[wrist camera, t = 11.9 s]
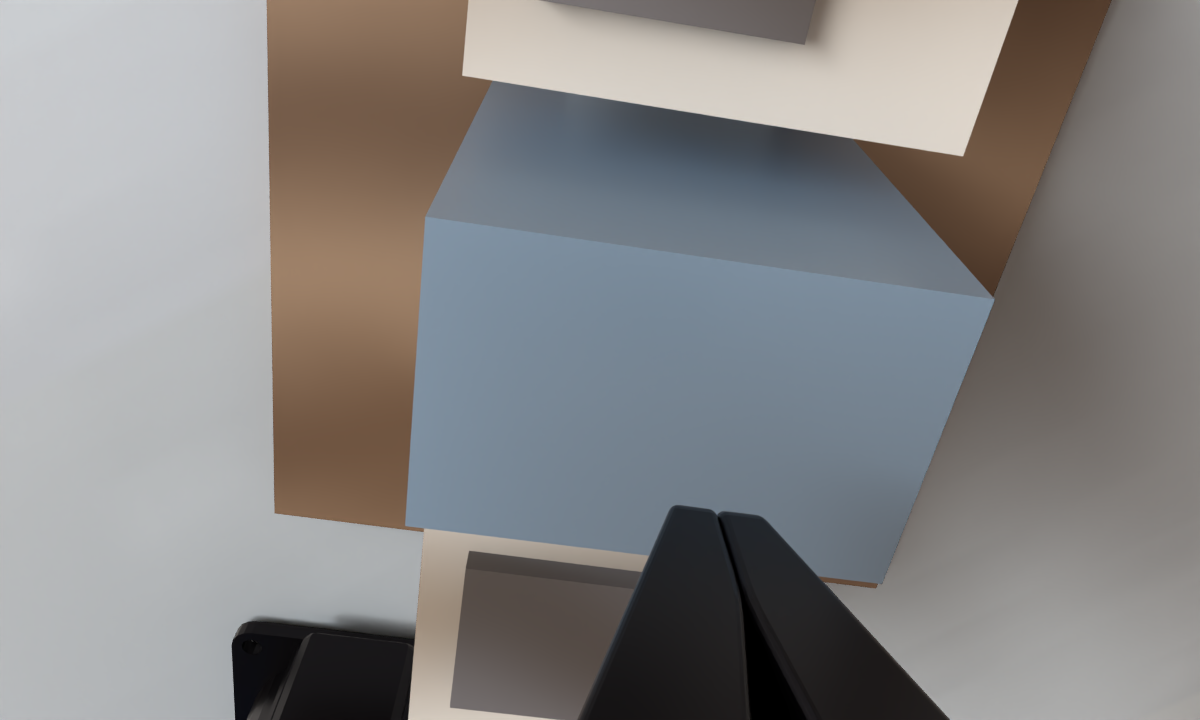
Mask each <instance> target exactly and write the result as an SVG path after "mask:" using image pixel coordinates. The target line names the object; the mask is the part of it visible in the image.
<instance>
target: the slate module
mask: <svg viewBox="0 0 1200 720" xmlns="http://www.w3.org/2000/svg"><path fill="white" fill-rule="evenodd" d="M994 301H995V299H994V298H993V297H992V296H991V294H990V293H989V292H988V291H987V290H986V289H985V288H984V287H983V285H982V284H981V283H980V282H979V281H978V280H977V279H976V278H975V276H974V275H973V274H972V273H971V272H970V271H969V270H968V268H967V267H966V266H965V265H964V264H963V263H962V262H961V261H960V259H959V258H958V257H957V256H956V255H955V254H954V253H953V252H952V250H951V249H950V248H949V247H948V246H947V245H946V244H945V243H944V241H943V240H942V239H941V238H940V237H939V236H938V235H937V234H936V232H935V231H934V230H933V229H932V228H931V227H930V226H929V225H928V223H927V222H926V221H925V220H924V219H923V218H922V217H921V215H920V214H919V213H918V212H917V211H916V210H915V209H914V208H913V206H912V205H911V204H910V203H909V202H908V201H907V200H906V199H905V197H904V196H903V195H902V194H901V193H900V192H899V191H898V190H897V188H896V187H895V186H894V185H893V184H892V183H891V182H890V181H889V179H888V178H887V177H886V176H885V175H884V174H883V173H882V171H881V170H880V169H879V168H878V167H877V166H876V165H875V164H874V162H873V161H872V160H871V159H870V158H869V157H868V156H867V155H866V153H865V152H864V151H863V150H862V149H861V148H860V147H859V146H858V144H857V143H856V142H855V141H854V140H853V139H852V138H846V137H840V136H833V135H827V134H821V133H815V132H809V131H803V130H796V129H790V128H784V127H778V126H772V125H765V124H759V123H753V122H747V121H741V120H734V119H728V118H722V117H716V116H710V115H703V114H697V113H691V112H685V111H679V110H672V109H666V108H660V107H654V106H648V105H641V104H635V103H629V102H623V101H617V100H610V99H604V98H598V97H592V96H586V95H579V94H573V93H567V92H561V91H555V90H548V89H542V88H536V87H530V86H524V85H517V84H511V83H505V82H499V81H492V83H491V85H490V87H489V89H488V91H487V93H486V95H485V97H484V99H483V101H482V103H481V105H480V107H479V109H478V111H477V113H476V115H475V117H474V119H473V121H472V123H471V125H470V127H469V129H468V131H467V133H466V136H465V138H464V140H463V142H462V144H461V146H460V148H459V150H458V152H457V154H456V156H455V158H454V160H453V162H452V164H451V166H450V168H449V170H448V172H447V174H446V176H445V178H444V180H443V182H442V184H441V186H440V188H439V190H438V192H437V194H436V196H435V198H434V200H433V202H432V204H431V206H430V208H429V210H428V212H427V214H426V216H425V228H424V244H423V259H422V274H421V290H420V305H419V320H418V336H417V351H416V366H415V382H414V397H413V412H412V428H411V443H410V458H409V474H408V489H407V504H406V520H405V526H409V527H417V528H425V529H433V530H442V531H450V532H458V533H466V534H475V535H483V536H491V537H499V538H507V539H516V540H524V541H532V542H540V543H549V544H557V545H565V546H573V547H581V548H590V549H598V550H606V551H614V552H623V553H631V554H639V555H647V556H649V555H650V552H651V550H652V548H653V546H654V543H655V541H656V539H657V536H658V534H659V532H660V530H661V527H662V525H663V523H664V521H665V518H666V516H667V514H668V512H669V510H670V508H671V507H672V506H674V505H684V506H692V507H699V508H707V509H711V510H713V511H714V512H715V513H716V514H718V513H720V512H722V511H730V512H738V513H746V514H753V515H759V516H761V517H763V518H764V519H765V520H767V521H768V522H769V524H770V525H771V526H772V527H773V528H774V529H775V530H776V531H777V532H778V533H779V534H780V535H781V537H782V538H783V539H784V540H785V541H786V542H787V543H788V544H789V545H790V546H791V547H792V549H793V550H794V551H795V552H796V553H797V554H798V555H799V556H800V557H801V558H802V559H803V560H804V562H805V563H806V564H807V565H808V566H809V567H810V568H811V569H812V570H813V571H814V572H815V574H816V575H817V576H820V577H828V578H836V579H845V580H853V581H861V582H869V583H877V584H882V583H883V580H884V578H885V575H886V573H887V570H888V568H889V565H890V563H891V560H892V558H893V555H894V553H895V550H896V547H897V545H898V542H899V540H900V537H901V535H902V532H903V530H904V527H905V525H906V522H907V520H908V517H909V515H910V512H911V510H912V507H913V505H914V502H915V500H916V497H917V495H918V492H919V490H920V487H921V485H922V482H923V479H924V477H925V474H926V472H927V469H928V467H929V464H930V462H931V459H932V457H933V454H934V452H935V449H936V447H937V444H938V442H939V439H940V437H941V434H942V432H943V429H944V427H945V424H946V422H947V419H948V417H949V414H950V412H951V409H952V406H953V404H954V401H955V399H956V396H957V394H958V391H959V389H960V386H961V384H962V381H963V379H964V376H965V374H966V371H967V369H968V366H969V364H970V361H971V359H972V356H973V354H974V351H975V349H976V346H977V344H978V341H979V339H980V336H981V333H982V331H983V328H984V326H985V323H986V321H987V318H988V316H989V313H990V311H991V308H992V306H993V303H994Z"/></svg>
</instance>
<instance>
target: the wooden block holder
mask: <svg viewBox="0 0 1200 720" xmlns="http://www.w3.org/2000/svg"><path fill="white" fill-rule="evenodd" d="M1110 3H1111V0H267V46H268V111H269V176H270V241H271V306H272V371H273V436H274V501H275V513H277V514H285V515H293V516H301V517H309V518H317V519H325V520H333V521H341V522H349V523H357V524H365V525H373V526H381V527H389V528H397V529H405V530H413V531H421V532H424V537H423V549H422V560H421V572H420V584H419V596H418V608H417V620H416V632H415V644H414V656H413V668H412V680H411V692H410V703H409V715H408V720H577V719H578V716H579V714H580V712H581V710H582V707H583V705H584V703H585V700H586V698H587V696H588V694H589V691H590V689H591V687H592V685H593V682H594V680H595V678H596V675H597V673H598V671H599V669H600V666H601V664H602V662H603V659H604V657H605V655H606V653H607V650H608V648H609V646H610V644H611V641H612V639H613V637H614V634H615V632H616V630H617V628H618V625H619V623H620V621H621V618H622V616H623V614H624V612H625V609H626V607H627V605H628V603H629V600H630V598H631V596H632V593H633V591H634V589H635V587H636V584H637V582H638V580H639V577H640V575H641V573H642V571H643V568H644V566H645V564H646V562H647V559H648V557H649V556H647V555H639V554H631V553H623V552H614V551H606V550H598V549H590V548H581V547H573V546H565V545H557V544H549V543H540V542H532V541H524V540H516V539H507V538H499V537H491V536H483V535H475V534H466V533H458V532H450V531H442V530H433V529H425V528H417V527H409V526H405V520H406V504H407V489H408V474H409V458H410V443H411V428H412V412H413V397H414V382H415V366H416V351H417V336H418V320H419V305H420V290H421V274H422V259H423V244H424V228H425V216H426V214H427V212H428V210H429V208H430V206H431V204H432V202H433V200H434V198H435V196H436V194H437V192H438V190H439V188H440V186H441V184H442V182H443V180H444V178H445V176H446V174H447V172H448V170H449V168H450V166H451V164H452V162H453V160H454V158H455V156H456V154H457V152H458V150H459V148H460V146H461V144H462V142H463V140H464V138H465V136H466V133H467V131H468V129H469V127H470V125H471V123H472V121H473V119H474V117H475V115H476V113H477V111H478V109H479V107H480V105H481V103H482V101H483V99H484V97H485V95H486V93H487V91H488V89H489V87H490V85H491V83H492V81H499V82H505V83H511V84H517V85H524V86H530V87H536V88H542V89H548V90H555V91H561V92H567V93H573V94H579V95H586V96H592V97H598V98H604V99H610V100H617V101H623V102H629V103H635V104H641V105H648V106H654V107H660V108H666V109H672V110H679V111H685V112H691V113H697V114H703V115H710V116H716V117H722V118H728V119H734V120H741V121H747V122H753V123H759V124H765V125H772V126H778V127H784V128H790V129H796V130H803V131H809V132H815V133H821V134H827V135H833V136H840V137H846V138H852V139H853V140H854V141H855V142H856V143H857V144H858V146H859V147H860V148H861V149H862V150H863V151H864V152H865V153H866V155H867V156H868V157H869V158H870V159H871V160H872V161H873V162H874V164H875V165H876V166H877V167H878V168H879V169H880V170H881V171H882V173H883V174H884V175H885V176H886V177H887V178H888V179H889V181H890V182H891V183H892V184H893V185H894V186H895V187H896V188H897V190H898V191H899V192H900V193H901V194H902V195H903V196H904V197H905V199H906V200H907V201H908V202H909V203H910V204H911V205H912V206H913V208H914V209H915V210H916V211H917V212H918V213H919V214H920V215H921V217H922V218H923V219H924V220H925V221H926V222H927V223H928V225H929V226H930V227H931V228H932V229H933V230H934V231H935V232H936V234H937V235H938V236H939V237H940V238H941V239H942V240H943V241H944V243H945V244H946V245H947V246H948V247H949V248H950V249H951V250H952V252H953V253H954V254H955V255H956V256H957V257H958V258H959V259H960V261H961V262H962V263H963V264H964V265H965V266H966V267H967V268H968V270H969V271H970V272H971V273H972V274H973V275H974V276H975V278H976V279H977V280H978V281H979V282H980V283H981V284H982V285H983V287H984V288H985V289H986V290H987V291H988V292H989V293H990V294H991V296H992V297H993V295H994V293H995V290H996V288H997V285H998V283H999V280H1000V278H1001V275H1002V273H1003V270H1004V268H1005V265H1006V263H1007V260H1008V258H1009V255H1010V253H1011V250H1012V248H1013V245H1014V243H1015V240H1016V238H1017V235H1018V233H1019V230H1020V228H1021V225H1022V223H1023V220H1024V218H1025V215H1026V213H1027V210H1028V208H1029V205H1030V203H1031V200H1032V198H1033V195H1034V193H1035V190H1036V188H1037V185H1038V183H1039V180H1040V178H1041V175H1042V173H1043V170H1044V168H1045V165H1046V163H1047V160H1048V158H1049V155H1050V153H1051V150H1052V148H1053V145H1054V143H1055V140H1056V138H1057V135H1058V133H1059V130H1060V128H1061V125H1062V123H1063V120H1064V118H1065V115H1066V113H1067V110H1068V108H1069V105H1070V103H1071V100H1072V98H1073V95H1074V93H1075V90H1076V88H1077V85H1078V83H1079V80H1080V78H1081V75H1082V73H1083V70H1084V68H1085V65H1086V63H1087V60H1088V58H1089V55H1090V53H1091V50H1092V48H1093V45H1094V43H1095V40H1096V38H1097V35H1098V33H1099V30H1100V28H1101V25H1102V23H1103V20H1104V18H1105V15H1106V13H1107V10H1108V8H1109V5H1110ZM818 577H819V578H820V579H821V580H822V581H823V582H829V583H837V584H845V585H853V586H861V587H869V588H876V587H877V585H878V584H877V583H869V582H861V581H853V580H845V579H836V578H828V577H820V576H818Z"/></svg>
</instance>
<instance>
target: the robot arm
mask: <svg viewBox="0 0 1200 720" xmlns="http://www.w3.org/2000/svg"><path fill="white" fill-rule="evenodd" d="M251 640H253V641H257V642H258V643H256V642H253V641H251ZM414 644H415V640H412V639H404V638H395V637H386V636H378V635H369V634H361V633H352V632H344V631H335V630H326V629H318V628H309V627H301V626H292V625H283V624H275V623H266V622H258V621H253V622H247V623H244V624H242V625H241V626H240V627H239V628H238V630H237V632H236V635H235V637H234V639H233V642H232V661H233V682H234V703H235V720H408V715H409V703H410V692H411V680H412V668H413V656H414ZM577 720H950V719H949V718H948V717H947V716H946V715H945V714H944V713H943V712H942V710H941V709H940V708H939V707H938V706H937V705H936V704H935V703H934V702H933V701H932V700H931V698H930V697H929V696H928V695H927V694H926V693H925V692H924V691H923V690H922V689H921V688H920V687H919V685H918V684H917V683H916V682H915V681H914V680H913V679H912V678H911V677H910V676H909V675H908V673H907V672H906V671H905V670H904V669H903V668H902V667H901V666H900V665H899V664H898V663H897V662H896V660H895V659H894V658H893V657H892V656H891V655H890V654H889V653H888V652H887V651H886V650H885V648H884V647H883V646H882V645H881V644H880V643H879V642H878V641H877V640H876V639H875V638H874V637H873V635H872V634H871V633H870V632H869V631H868V630H867V629H866V628H865V627H864V626H863V625H862V623H861V622H860V621H859V620H858V619H857V618H856V617H855V616H854V615H853V614H852V613H851V612H850V610H849V609H848V608H847V607H846V606H845V605H844V604H843V603H842V602H841V601H840V600H839V599H838V597H837V596H836V595H835V594H834V593H833V592H832V591H831V590H830V589H829V588H828V587H827V585H826V584H825V583H824V582H823V581H822V580H821V579H820V578H819V577H818V576H817V575H816V574H815V572H814V571H813V570H812V569H811V568H810V567H809V566H808V565H807V564H806V563H805V562H804V560H803V559H802V558H801V557H800V556H799V555H798V554H797V553H796V552H795V551H794V550H793V549H792V547H791V546H790V545H789V544H788V543H787V542H786V541H785V540H784V539H783V538H782V537H781V535H780V534H779V533H778V532H777V531H776V530H775V529H774V528H773V527H772V526H771V525H770V524H769V522H768V521H767V520H765V519H764V518H763V517H761V516H759V515H753V514H746V513H738V512H730V511H722V512H720V513H718V514H716V513H715V512H714V511H713V510H711V509H707V508H699V507H692V506H684V505H674V506H672V507H671V508H670V510H669V512H668V514H667V516H666V518H665V521H664V523H663V525H662V527H661V530H660V532H659V534H658V536H657V539H656V541H655V543H654V546H653V548H652V550H651V552H650V555H649V557H648V559H647V562H646V564H645V566H644V568H643V571H642V573H641V575H640V577H639V580H638V582H637V584H636V587H635V589H634V591H633V593H632V596H631V598H630V600H629V603H628V605H627V607H626V609H625V612H624V614H623V616H622V618H621V621H620V623H619V625H618V628H617V630H616V632H615V634H614V637H613V639H612V641H611V644H610V646H609V648H608V650H607V653H606V655H605V657H604V659H603V662H602V664H601V666H600V669H599V671H598V673H597V675H596V678H595V680H594V682H593V685H592V687H591V689H590V691H589V694H588V696H587V698H586V700H585V703H584V705H583V707H582V710H581V712H580V714H579V716H578V719H577Z"/></svg>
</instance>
